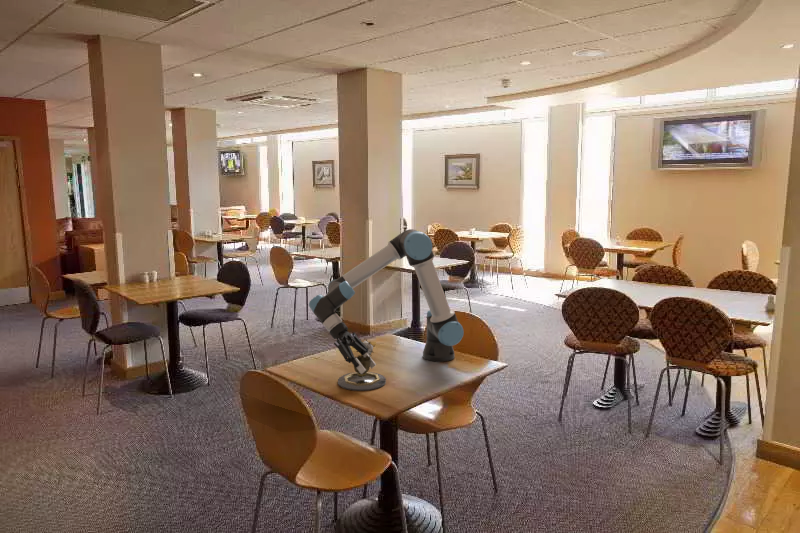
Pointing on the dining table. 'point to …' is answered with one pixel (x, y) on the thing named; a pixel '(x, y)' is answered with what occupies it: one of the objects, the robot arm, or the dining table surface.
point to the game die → (368, 347)
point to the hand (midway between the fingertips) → (368, 369)
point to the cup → (366, 364)
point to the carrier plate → (361, 381)
